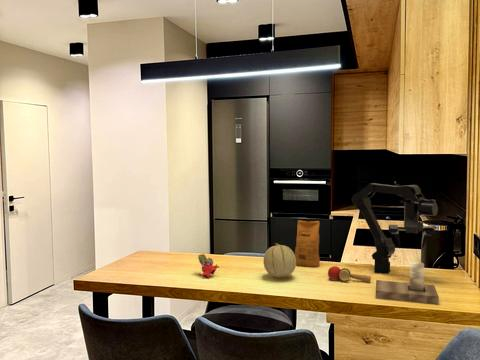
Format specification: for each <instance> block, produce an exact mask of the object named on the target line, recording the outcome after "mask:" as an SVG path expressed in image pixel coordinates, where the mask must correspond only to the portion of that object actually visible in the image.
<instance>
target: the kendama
mask: <svg viewBox="0 0 480 360" xmlns="http://www.w3.org/2000/svg"><path fill="white" fill-rule="evenodd" d="M327 276H328V278H329V280H332V281H340V280H341V281H344V282H345V281H348V280H349V279H350V278H352V279H353V280H358V281H362V282H366V283H369V284H371V280H372V276H371V275H364V274H358V273H351V271H350V269H349V268H348V267H343V268H340V267H339V266H337V265H335V266H334V265H333V266H331V267H329V268H328V271H327Z"/></svg>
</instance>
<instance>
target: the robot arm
mask: <svg viewBox="0 0 480 360" xmlns="http://www.w3.org/2000/svg"><path fill="white" fill-rule="evenodd" d="M375 193H379V194H381V193H382V194H390V195H396V196H399V197H401V198H402V199H401V200H400V201H399V203H400V204H404V205H403V206H404V207H403V208H404V211H403V212H404V214H403V216H404V218H403V221H404V222H403V226H399V225H398V224H389V225H388V233H389V234H391V235H392V236H394V237H395V239H396V242H397V246H398V249H401V241H400V240H401V239H400V233H399V232H405V233H406V234H415V235H416V234H418V233H422V238H421V246H420V248H421V251H423V249H424V247H425V244H426V242H427V240H428V238H429V237H430V238H431V237H432V235H433V236H434V235H435V233H436V229H435V228H434V226H429V225H428V226H427V225H424V222H423V221H419V214H420V215H421V216H431V217H436V216H437V215H438V213H439V211H438V210H439V206H438V204H437V202H436V201H437V200H436V199H426V197H425V196H424V194H423V193H422V190H421V188H420V186H419V185H417V184H409V185H408V184H407V185H391V184H382V183H376V182H373V183H372V182H371V183H368V184H367V185H366V186H365V187H364V188H362V189H360V190H359V191H358V192H356V193H354V194H353V195H352V196H351V197H352V198H351V201H352V203H353V206H354V207H356V209H357V210H359V212H361V214H362V216H363V218H364V220H365V223H366V224H367V226H368V228H369V230H370V232H371V234H372V236H373V238H374V243H375V244H374V247H375V250H376V251H375V252H373V253H372V254H371V257H372V260H374V270H373V272H374V273H375V274H387V275H388V274H390V272H391V261H390V259H391V258H392V256H393V255H394V254H395V252H396V248H395V247H396V244H395V243H394V242H393V238H391V237H387V236H386V235H385V233H384V231H383V229H382V228H381V226H380V224H379V221H378V219H377V217H376V215H375V214H374V211H373V209H372V201H371V198H372V197H373V196H374V195H375Z"/></svg>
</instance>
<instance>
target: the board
mask: <svg viewBox="0 0 480 360" xmlns="http://www.w3.org/2000/svg"><path fill="white" fill-rule="evenodd" d="M409 287H410V282H403V281H393V280H391V281H390V280H380V279H375V299H381V300H390V301H398V302H400V301H401V302H409V303H419V304H426V305H427V304H429V305H439V301H440V300H439V294H438V291H437V289H436V286H435V285H434V284H428V283H427V284H425V283H424V291H423V292H419V291H410V289H409Z"/></svg>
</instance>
